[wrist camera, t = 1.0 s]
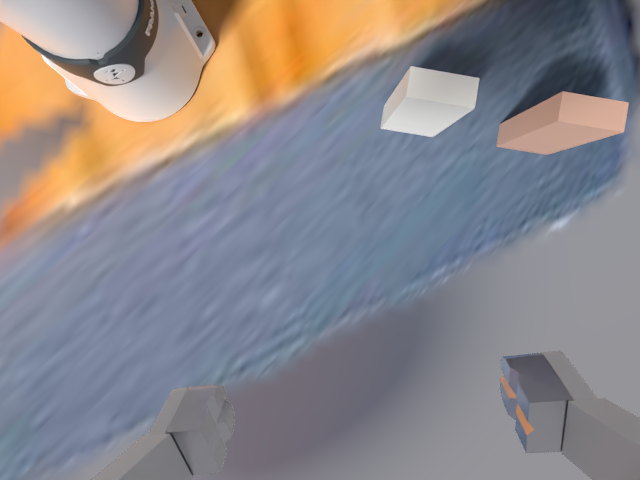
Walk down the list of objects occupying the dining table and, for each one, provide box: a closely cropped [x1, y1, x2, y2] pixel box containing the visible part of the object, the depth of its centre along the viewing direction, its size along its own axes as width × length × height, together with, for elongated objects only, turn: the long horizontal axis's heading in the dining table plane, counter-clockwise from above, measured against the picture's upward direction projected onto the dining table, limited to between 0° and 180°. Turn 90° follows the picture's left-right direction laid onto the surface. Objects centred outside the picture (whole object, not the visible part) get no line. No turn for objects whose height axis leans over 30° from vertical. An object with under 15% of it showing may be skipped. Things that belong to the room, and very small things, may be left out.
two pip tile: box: [496, 91, 629, 155], centre depth 44 cm, size 3×7×12 cm, turn 82°
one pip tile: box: [381, 66, 480, 137], centre depth 43 cm, size 3×7×12 cm, turn 81°
